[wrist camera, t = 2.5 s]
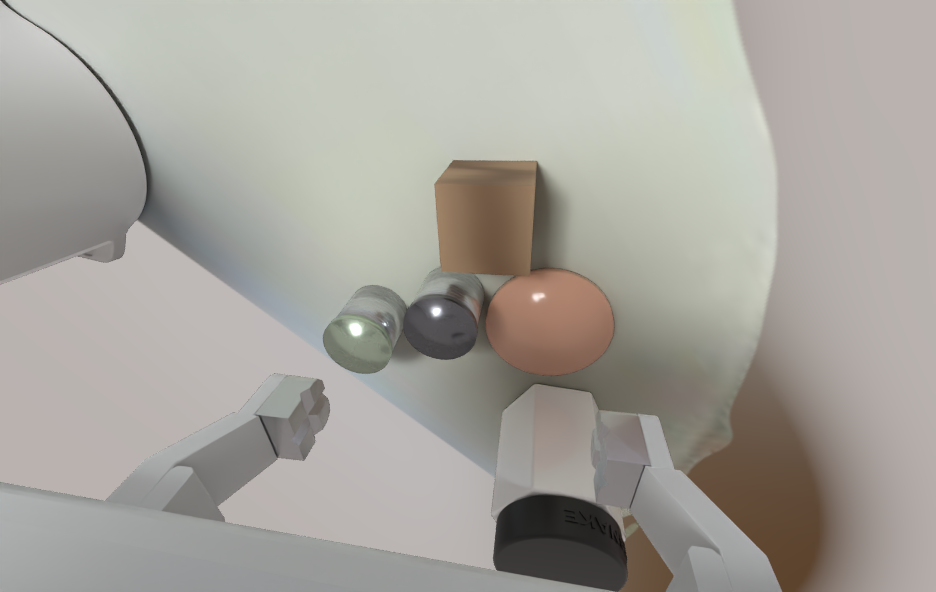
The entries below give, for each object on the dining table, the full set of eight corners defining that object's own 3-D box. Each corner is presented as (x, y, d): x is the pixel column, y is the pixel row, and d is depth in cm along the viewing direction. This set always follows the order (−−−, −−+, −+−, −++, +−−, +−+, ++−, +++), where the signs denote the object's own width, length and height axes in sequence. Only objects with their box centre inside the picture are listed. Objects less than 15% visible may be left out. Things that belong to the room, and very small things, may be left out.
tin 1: (356, 332, 33) (331, 370, 29) (344, 282, 30) (315, 316, 26) (412, 336, 32) (394, 376, 28) (405, 285, 29) (384, 321, 25)
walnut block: (457, 236, 27) (441, 271, 22) (453, 160, 24) (434, 183, 20) (532, 239, 26) (530, 276, 22) (536, 160, 23) (535, 185, 19)
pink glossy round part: (487, 363, 32) (485, 370, 31) (486, 265, 27) (485, 270, 27) (602, 373, 31) (603, 380, 30) (622, 271, 26) (624, 277, 25)
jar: (617, 443, 35) (647, 605, 25) (529, 457, 37) (524, 607, 27) (584, 370, 31) (603, 526, 21) (490, 392, 34) (467, 538, 24)
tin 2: (424, 317, 31) (407, 356, 27) (418, 262, 28) (398, 296, 24) (485, 321, 30) (477, 362, 26) (485, 265, 27) (475, 301, 24)
